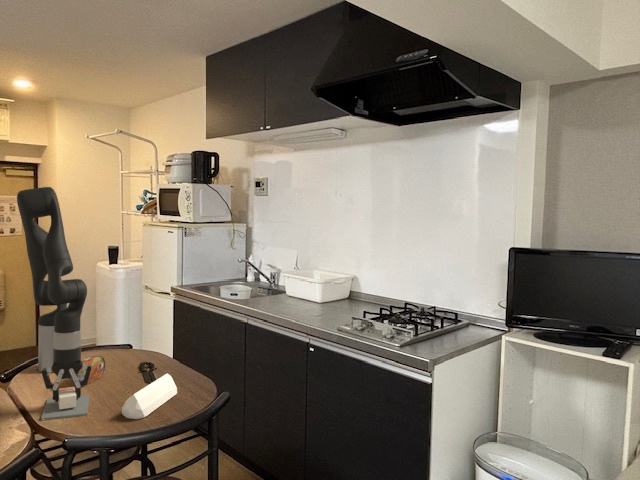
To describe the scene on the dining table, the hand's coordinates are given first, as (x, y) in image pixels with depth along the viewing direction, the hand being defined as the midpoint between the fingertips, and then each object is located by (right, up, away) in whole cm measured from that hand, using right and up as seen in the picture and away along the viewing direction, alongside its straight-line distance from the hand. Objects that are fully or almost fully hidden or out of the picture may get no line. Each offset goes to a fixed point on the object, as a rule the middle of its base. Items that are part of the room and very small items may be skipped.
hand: (67, 399), depth 151 cm
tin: (-4, -1, +22) cm, 23 cm away
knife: (+14, -2, +33) cm, 36 cm away
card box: (0, -1, 0) cm, 1 cm away
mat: (0, -2, 0) cm, 2 cm away
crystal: (+24, -3, +5) cm, 25 cm away
